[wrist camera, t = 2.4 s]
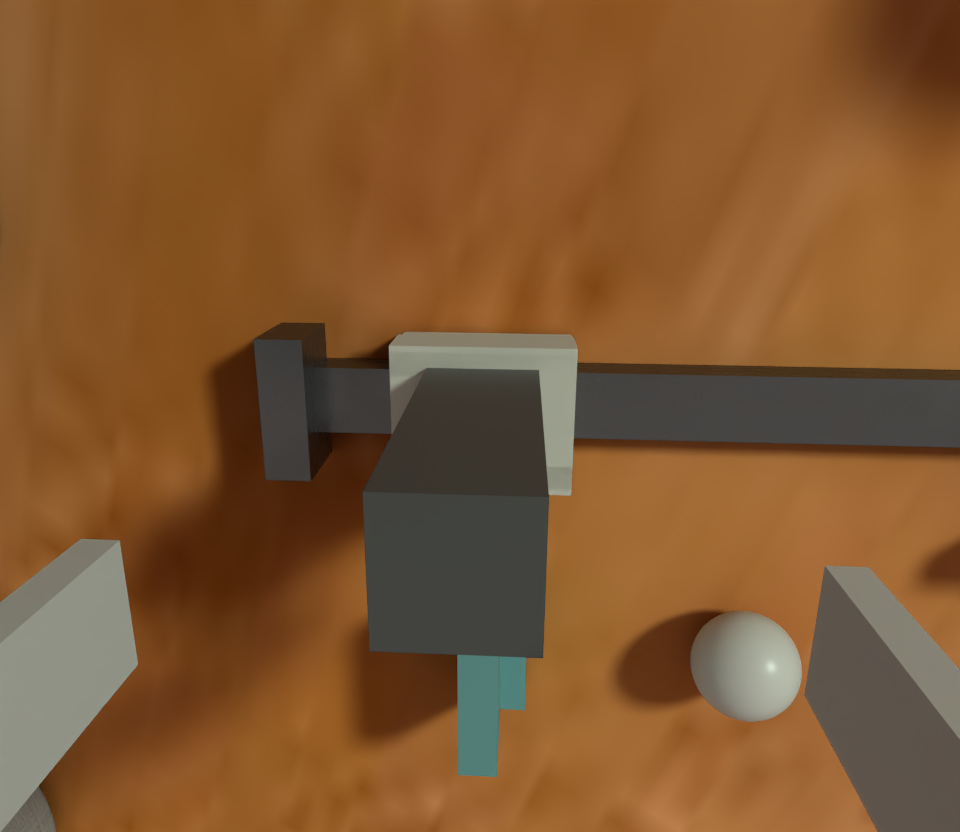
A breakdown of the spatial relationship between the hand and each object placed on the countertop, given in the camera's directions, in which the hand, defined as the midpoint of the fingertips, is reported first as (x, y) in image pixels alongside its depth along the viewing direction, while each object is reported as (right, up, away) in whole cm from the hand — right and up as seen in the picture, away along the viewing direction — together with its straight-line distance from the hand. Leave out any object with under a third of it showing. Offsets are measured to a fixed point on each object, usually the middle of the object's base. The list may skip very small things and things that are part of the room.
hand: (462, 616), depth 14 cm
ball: (+10, -6, +14) cm, 19 cm away
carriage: (+1, 0, +15) cm, 15 cm away
